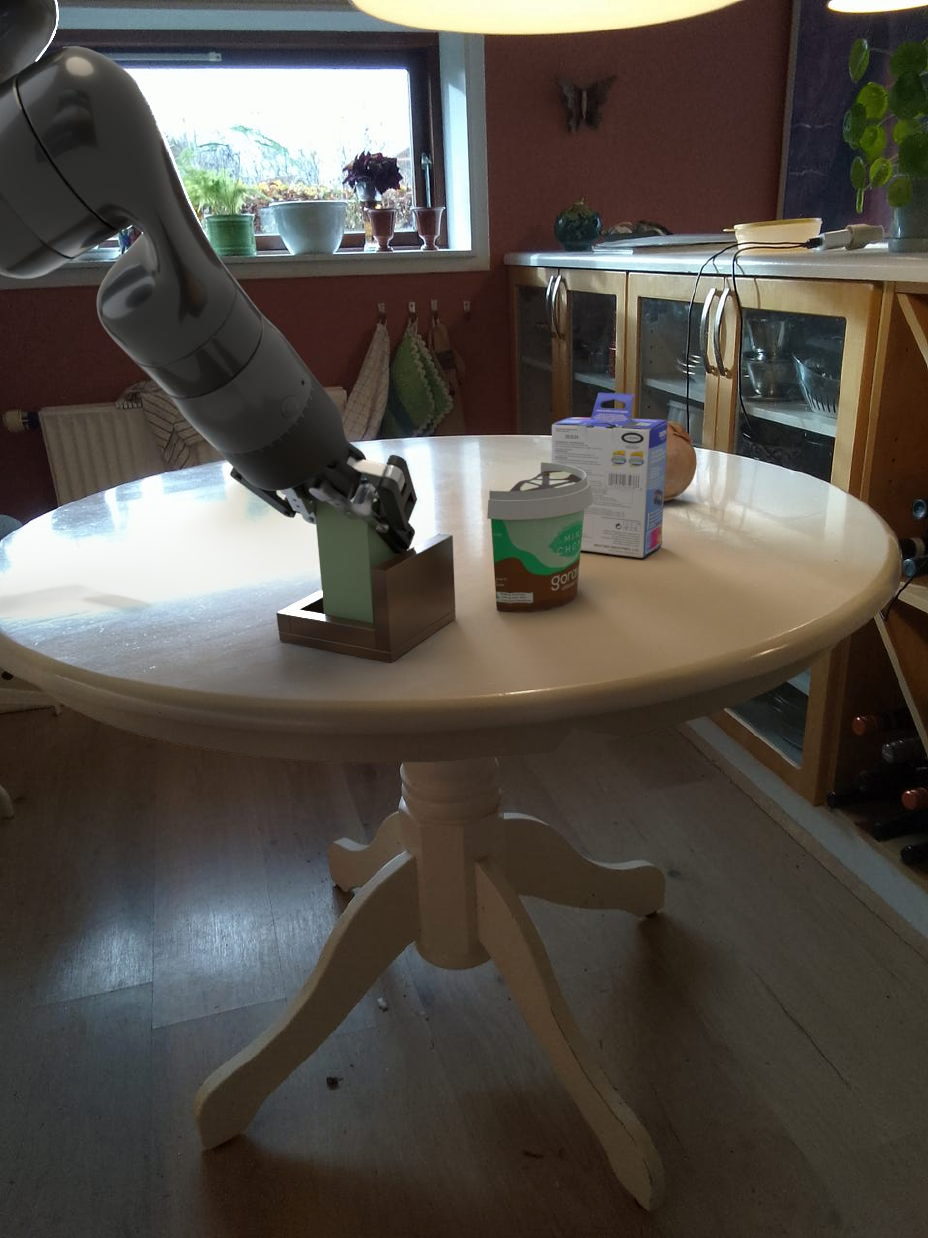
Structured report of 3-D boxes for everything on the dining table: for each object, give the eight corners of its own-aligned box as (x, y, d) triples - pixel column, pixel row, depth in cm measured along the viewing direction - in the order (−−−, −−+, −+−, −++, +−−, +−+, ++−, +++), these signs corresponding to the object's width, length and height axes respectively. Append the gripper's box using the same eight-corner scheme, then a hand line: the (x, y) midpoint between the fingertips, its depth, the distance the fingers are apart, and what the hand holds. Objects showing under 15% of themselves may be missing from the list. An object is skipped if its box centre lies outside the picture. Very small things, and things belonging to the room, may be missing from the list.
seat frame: (279, 641, 67) (269, 554, 65) (351, 601, 75) (345, 522, 72) (391, 663, 63) (385, 571, 60) (456, 618, 70) (452, 535, 68)
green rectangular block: (324, 616, 67) (313, 499, 64) (361, 596, 71) (353, 485, 68) (373, 625, 65) (365, 505, 62) (409, 604, 69) (403, 490, 66)
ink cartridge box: (664, 545, 87) (672, 393, 82) (646, 560, 83) (653, 401, 77) (570, 534, 92) (572, 389, 86) (548, 548, 87) (548, 397, 82)
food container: (563, 626, 68) (564, 498, 64) (489, 616, 70) (486, 492, 67) (609, 577, 78) (612, 464, 75) (543, 570, 81) (543, 460, 77)
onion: (680, 521, 106) (724, 445, 103) (652, 518, 98) (698, 435, 95) (617, 484, 110) (656, 409, 107) (584, 478, 102) (626, 397, 99)
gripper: (374, 350, 52) (475, 507, 66) (191, 348, 58) (319, 490, 72) (327, 459, 49) (442, 596, 64) (141, 443, 56) (284, 571, 70)
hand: (376, 539), depth 68 cm, fingers closed on green rectangular block, 4 cm apart
